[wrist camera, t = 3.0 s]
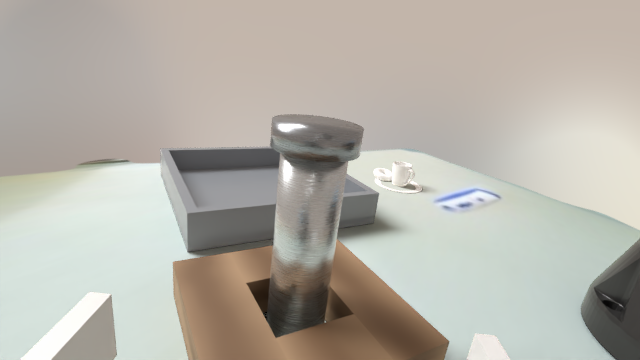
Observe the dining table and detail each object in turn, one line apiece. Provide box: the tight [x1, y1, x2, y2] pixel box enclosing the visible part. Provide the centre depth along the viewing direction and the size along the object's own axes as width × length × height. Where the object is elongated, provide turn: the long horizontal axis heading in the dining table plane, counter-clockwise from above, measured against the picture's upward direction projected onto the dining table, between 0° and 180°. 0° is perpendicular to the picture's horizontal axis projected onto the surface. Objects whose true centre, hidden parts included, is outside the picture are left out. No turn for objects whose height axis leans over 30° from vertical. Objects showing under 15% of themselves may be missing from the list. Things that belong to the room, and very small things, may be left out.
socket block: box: [173, 239, 449, 360], centre depth 24 cm, size 14×14×3 cm
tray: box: [160, 147, 379, 252], centre depth 46 cm, size 22×22×4 cm
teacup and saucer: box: [373, 161, 422, 193], centre depth 59 cm, size 9×8×4 cm
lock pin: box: [267, 114, 364, 338], centre depth 22 cm, size 5×5×15 cm
